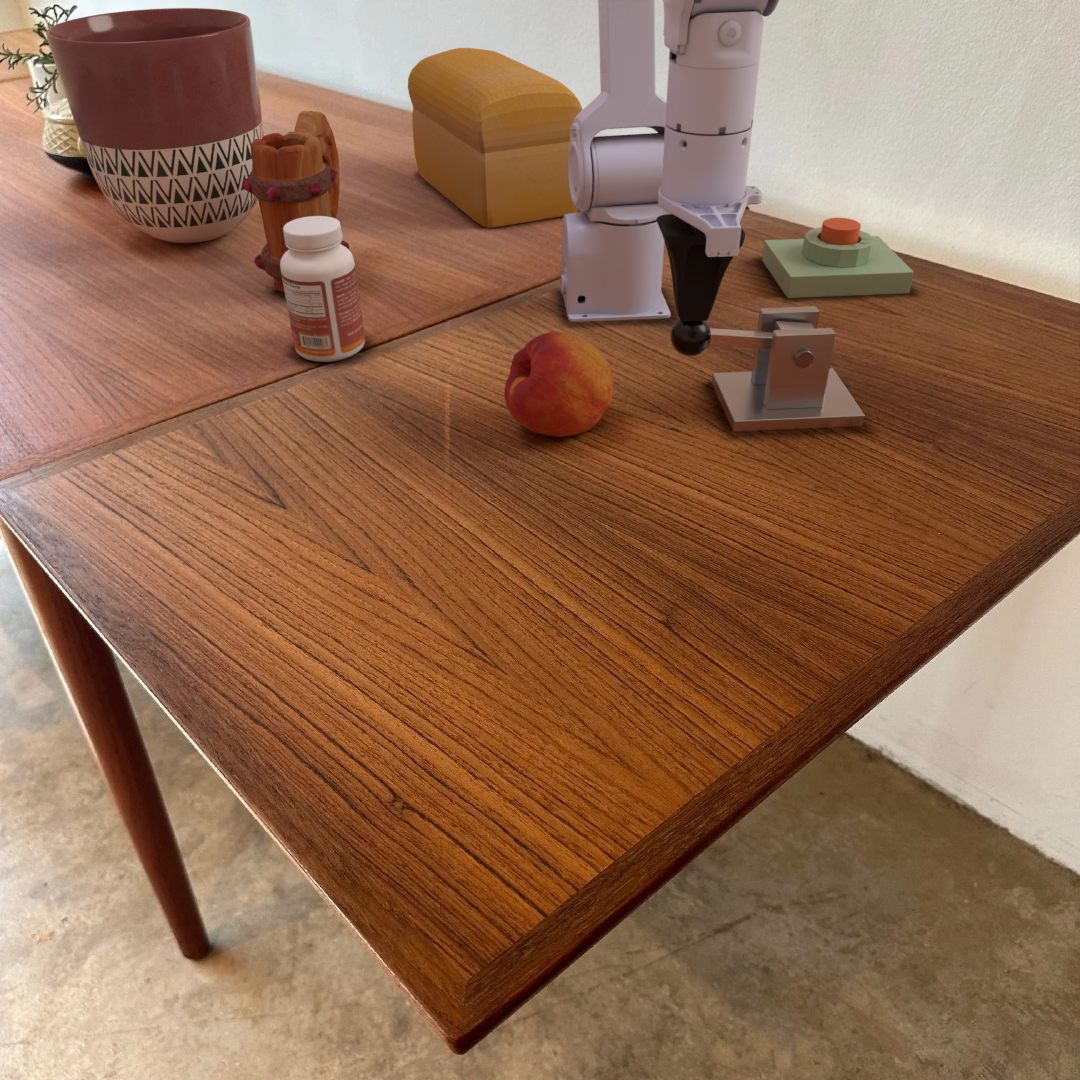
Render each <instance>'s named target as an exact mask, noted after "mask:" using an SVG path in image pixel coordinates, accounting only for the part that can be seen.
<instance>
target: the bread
mask: <svg viewBox="0 0 1080 1080" xmlns="http://www.w3.org/2000/svg"><path fill="white" fill-rule="evenodd" d="M407 91H408V97H409V100H410V102H411V105H412V107H413V108H412V112H411V113H412V117H411V118H412V119H411V121H412V139H413V151H414V158H415V162H416V166H417V170H418V173H419V176H420V177H421V178H422V179H423V180H424V181H425V182H427V183H428V184H429V185H430V186H431V187H433V188H434V189H435V190H436V191H437V192H439V193H440V194H441V195H442V196H444V197H445V198H446V199H447V200H448V201H450V202H451V203H452V204H453V205H454V206H455V207H457V208H458V209H459V210H460V211H462V212H463V213H464V214H465V215H467V217H469V218H470V219H472V221H474V222H475V223H477V224H479V225H480V226H482V227H483V228H486V229H487V228H488V229H494V228H500V227H506V226H512V225H517V224H524V223H530V222H537V221H542V220H543V221H544V220H548V219H554V218H561V217H564V215H565V214H570V213H577V212H579V210H578V208H577V207H576V206H575V205H574V204H573V202H572V199H571V194H570V188H569V177H568V159H569V150H570V128H571V126H572V123H573V121H574V118H575V117H576V116H577V115H578V114H579V113H580V112H581V111H582V110H583V109H584V108H583V106H582V105H581V102H580V100H579V98H578V97H577V96H576V94H575V93H574V92H573V91H572V90H571V89H570V88H568V87H567V86H566V85H565V84H564V83H562V82H560V81H559V80H557V79H555V78H554V77H551V76H549V75H547V74H545V73H543V72H541V71H538V70H537V69H534V68H532V67H530V66H528V65H526V64H524V63H521V62H520V61H517V60H515V59H513V58H511V57H509V56H506V55H504V54H502V53H500V52H497V51H494V50H489V49H483V48H475V47H474V48H473V47H457V48H452V49H448V50H445V51H441V52H438V53H436V54H431V55H429V56H426V57H424V58H423V59H421V60H420V61H418V63H416V65H415V66H414V67H413V68H412V69H411V71H410V73H409V75H408V78H407Z"/></svg>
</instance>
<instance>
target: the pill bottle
mask: <svg viewBox="0 0 1080 1080" xmlns="http://www.w3.org/2000/svg"><path fill="white" fill-rule="evenodd" d="M283 232H284V239H285V243H286V247H287V248H289V250H288V251H286V252H285V253H284V255H283V256H282V258H281V261H280V268H281V275H282V280H283V286H284V291H285V293H284V296H285V302H286V308H287V312H288V313H287V314H288V319H289V325H290V330H291V335H292V341H293V346H294V349H295V352H296V353H297V354H298V355H299V356H300V357H301V358H303V359H304V360H308V361H312V362H319V363H331V362H332V363H333V362H337V361H342V360H345V359H348V358H350V357H352V356H355V355H356V354H358V353H359V352H360V351H361V350H362V349H363V348H364V346H365V342H366V336H365V327H364V321H363V313H362V307H361V306H362V305H361V300H360V291H359V285H358V278H357V271H356V264H355V259H354V258H355V257H354V256H353V253H352V252H351V250H350V249H349V250H348V249H347V248H346V247H345V246H343V245H341V244H340V243H341V241H343V231H342V225H341V222H340V220H338V219H335V218H332V217H326V216H310V217H303V218H298V219H295V220H292V221H290V222H288V223H287V224H285V225H284V227H283Z"/></svg>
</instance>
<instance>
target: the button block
mask: <svg viewBox="0 0 1080 1080" xmlns="http://www.w3.org/2000/svg"><path fill="white" fill-rule="evenodd" d="M821 230H822V226H819V227H816V228H812V229H809V230H808V231H807V232H806V233H805V235H804V237H803V238H790V239H789V238H788V239H785V238H784V239H765V240H764V241H763V242H764V243H763V248H762V256H761V262H763V264H764V266H765V267H766V268H767V270H768V271H769V273H770V274H771V276H772V278H773V279H774V281H775V282H776V283H777V285H778V286H779V288H780V289H781V291H782V293H783V294H784V295H785V297H786V298H787V299H794V298H795V299H796V298H821V297H824V298H825V297H845V296H846V297H847V296H849V297H850V296H873V295H897V294H898V295H899V294H900V295H901V294H910V292H911V287H912V282H913V278H914V273H915V272H914V270H913V269H912V268H911V267H910V266H909V265H907V263H906V262H905V261H904V260H903V259H902V258H901V257H900V256H899V255H897V254H896V252H895V251H894V250H893V249H892V248H891V246H889V245H888V244H887V243H886V242H885V241H884V240H883V239H882V238H881V237H880V236H879V235H871V234H870V233H868V232H865V231H863V230H860V233H859V238H858V243H856V244H853V245H834V244H828V243H825V242H823V241H820V237H821Z"/></svg>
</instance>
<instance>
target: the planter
mask: <svg viewBox="0 0 1080 1080" xmlns="http://www.w3.org/2000/svg"><path fill="white" fill-rule="evenodd" d="M45 34H46V39H47V42H48V45H49V48H50V52H51V55H52V58H53V62H54V65H55V67H56V71H57V73H58V76H59V79H60V82H61V85H62V88H63V91H64V95H65V97H66V100H67V103H68V106H69V109H70V112H71V113H70V114H71V116H72V119H73V122H74V126H75V128H76V131H77V134H78V137H79V140H80V142H81V145H82V148H83V151H84V154H85V157H86V161H87V163H88V165H89V168H90V170H91V173H92V175H93V179H95V182H96V183H97V185H98V188H99V189H100V191H101V193H102V194H103V196H104V197H105V199H106V201H107V202H108V203H109V205H110V207H112V209H113V210H114V211H115V212H116V213H117V214H118V215H119V216H120V217H121V218H122V219H123V220H125V222H127V223H128V224H130V225H131V226H132V227H133V228H136V229H137V230H139V231H140V232H142V233H144V234H146V235H148V236H150V237H151V238H154V239H157V240H159V241H164V242H167V243H175V244H197V243H204V242H209V241H213V240H215V239H219V238H221V237H223V236H225V235H227V234H229V233H231V232H232V231H234V230H235V229H237V228H238V227H239V226H240V225H241V224H242V223H243V222H244V221H245V220H246V219H247V217H248V216H249V214H251V212H252V210H253V209H254V208H255V206H256V204H257V203H258V198H256V197H255V196H254V195H253V194H252V193H250V192H248V191H246V190H245V189H243V186H242V184H243V181H244V180H245V179H247V178H249V175H250V173H251V171H252V170H253V169H254V168H253V162H252V156H251V145H252V142H253V141H254V140H255V139H262V138H263V137H264V136H265V135H264V127H263V118H262V109H261V108H262V107H261V98H260V91H259V82H258V75H257V66H256V56H255V54H256V53H255V45H254V37H253V31H252V24H251V19H250V17H249V16H248V15H246V14H244V13H242V12H238V11H233V10H227V9H219V8H205V7H203V8H202V7H170V8H169V7H167V8H149V9H147V8H146V9H135V10H122V11H115V12H107V13H106V12H105V13H100V14H94V15H89V16H82V17H77V18H74V19H68V20H65V21H61V22H59V23H57V24H54V25H52V26H50V27H49V28H48V29H46V31H45Z"/></svg>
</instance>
